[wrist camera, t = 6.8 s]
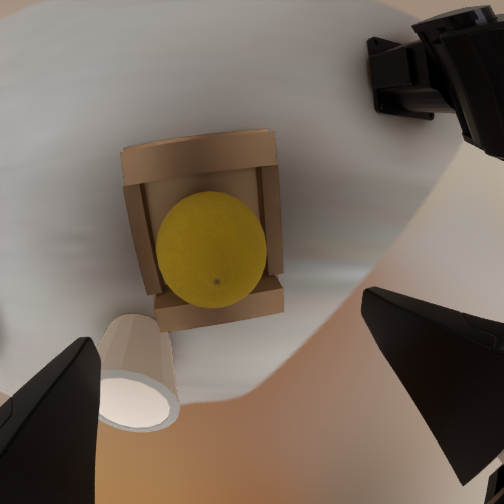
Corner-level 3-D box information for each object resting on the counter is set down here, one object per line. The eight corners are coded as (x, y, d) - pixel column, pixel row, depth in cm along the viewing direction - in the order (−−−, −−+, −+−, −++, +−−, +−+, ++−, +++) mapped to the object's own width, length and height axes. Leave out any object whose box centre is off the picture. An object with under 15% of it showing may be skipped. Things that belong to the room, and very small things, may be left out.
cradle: (264, 129, 18) (283, 126, 14) (274, 285, 22) (291, 313, 19) (126, 147, 16) (110, 149, 13) (158, 304, 21) (154, 337, 17)
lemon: (146, 219, 17) (116, 272, 10) (216, 165, 17) (233, 178, 10) (200, 281, 20) (207, 358, 12) (265, 232, 19) (311, 287, 12)
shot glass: (122, 376, 23) (114, 437, 16) (84, 318, 20) (59, 379, 14) (190, 360, 23) (196, 424, 17) (158, 296, 21) (150, 360, 14)
